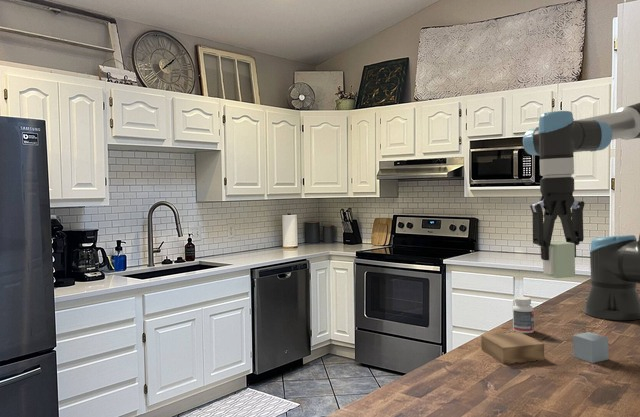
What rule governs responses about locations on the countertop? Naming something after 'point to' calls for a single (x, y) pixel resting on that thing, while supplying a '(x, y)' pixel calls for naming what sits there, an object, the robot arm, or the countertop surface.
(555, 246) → the sage block
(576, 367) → the countertop surface
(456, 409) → the countertop surface
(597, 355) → the slate cube
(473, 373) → the countertop surface
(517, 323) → the pill bottle
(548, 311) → the countertop surface
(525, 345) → the walnut slab
